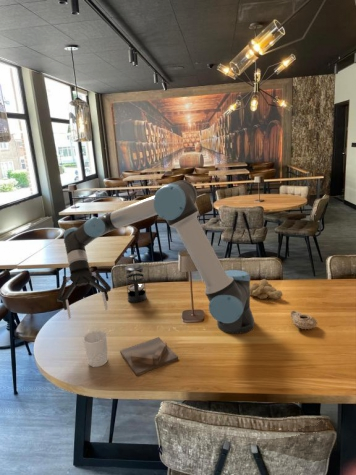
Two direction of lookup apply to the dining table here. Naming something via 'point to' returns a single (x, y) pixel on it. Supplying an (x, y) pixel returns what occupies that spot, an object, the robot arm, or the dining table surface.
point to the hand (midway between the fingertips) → (88, 313)
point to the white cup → (96, 348)
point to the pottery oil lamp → (303, 320)
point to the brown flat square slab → (148, 355)
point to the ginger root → (264, 290)
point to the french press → (135, 283)
